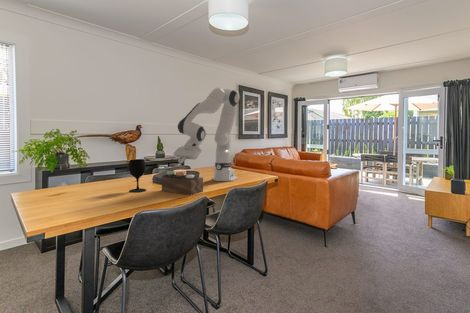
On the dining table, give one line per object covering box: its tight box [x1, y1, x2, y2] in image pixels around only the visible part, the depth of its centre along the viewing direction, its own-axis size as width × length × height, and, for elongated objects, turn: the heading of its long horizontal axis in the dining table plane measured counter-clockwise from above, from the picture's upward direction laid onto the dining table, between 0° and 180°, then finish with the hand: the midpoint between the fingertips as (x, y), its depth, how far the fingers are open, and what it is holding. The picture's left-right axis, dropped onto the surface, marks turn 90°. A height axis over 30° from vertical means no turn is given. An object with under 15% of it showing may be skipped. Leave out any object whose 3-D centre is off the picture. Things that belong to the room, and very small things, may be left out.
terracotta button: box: [175, 171, 185, 176], centre depth 166 cm, size 5×5×2 cm
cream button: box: [185, 174, 195, 179], centre depth 162 cm, size 5×5×2 cm
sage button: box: [166, 170, 176, 175], centre depth 170 cm, size 5×5×2 cm
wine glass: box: [128, 158, 147, 194], centre depth 168 cm, size 10×10×20 cm
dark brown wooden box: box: [161, 174, 204, 196], centre depth 168 cm, size 12×24×10 cm, turn 61°
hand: (179, 162), depth 174 cm, fingers closed
